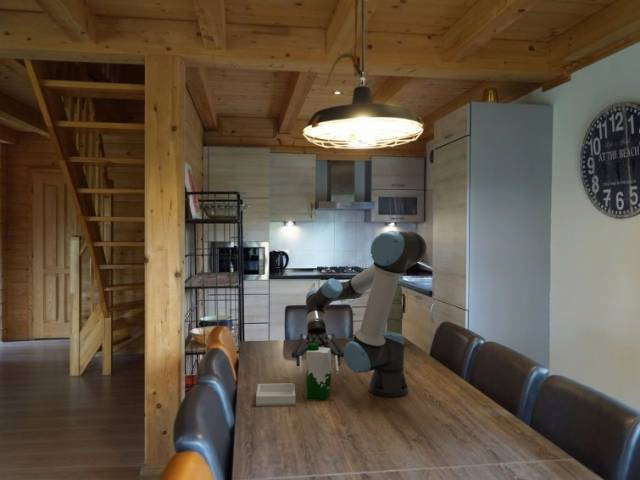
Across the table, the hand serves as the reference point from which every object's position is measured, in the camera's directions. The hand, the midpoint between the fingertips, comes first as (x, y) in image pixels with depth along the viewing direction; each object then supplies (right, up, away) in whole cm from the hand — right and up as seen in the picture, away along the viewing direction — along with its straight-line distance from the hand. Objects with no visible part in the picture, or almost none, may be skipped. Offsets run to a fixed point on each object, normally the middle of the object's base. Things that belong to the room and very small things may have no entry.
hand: (319, 373), depth 171 cm
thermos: (+40, -10, +74) cm, 85 cm away
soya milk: (0, -10, +2) cm, 10 cm away
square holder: (-16, -10, 0) cm, 19 cm away
